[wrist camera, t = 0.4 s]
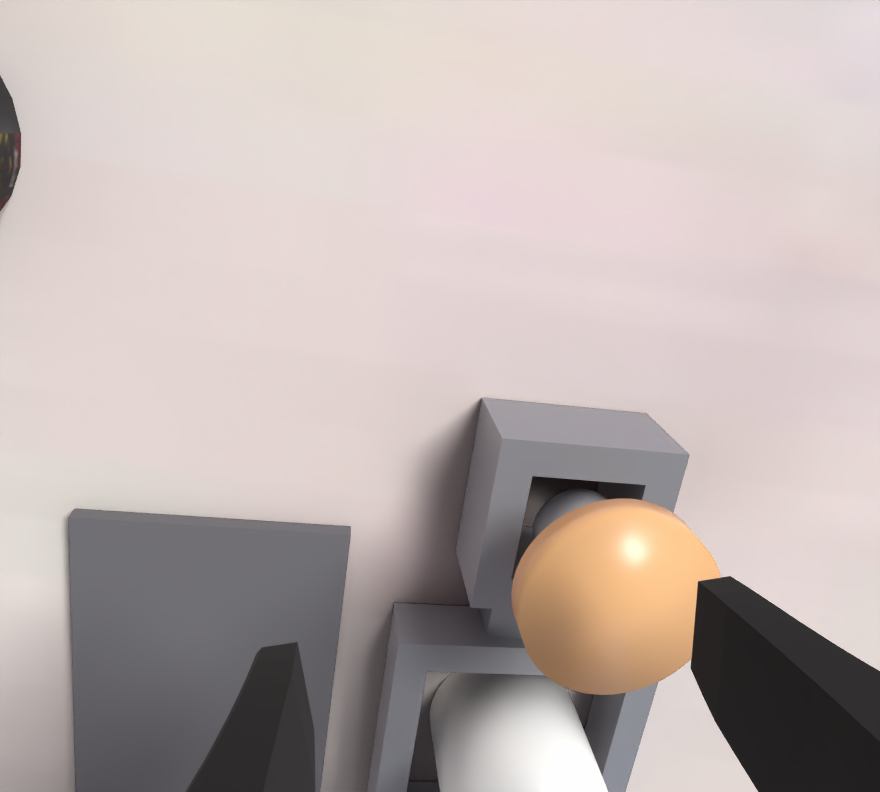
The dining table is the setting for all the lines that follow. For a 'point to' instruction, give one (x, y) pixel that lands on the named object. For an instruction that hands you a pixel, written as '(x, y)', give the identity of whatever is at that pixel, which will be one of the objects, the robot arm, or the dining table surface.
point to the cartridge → (510, 736)
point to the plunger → (608, 592)
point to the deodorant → (8, 145)
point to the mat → (189, 634)
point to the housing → (494, 565)
